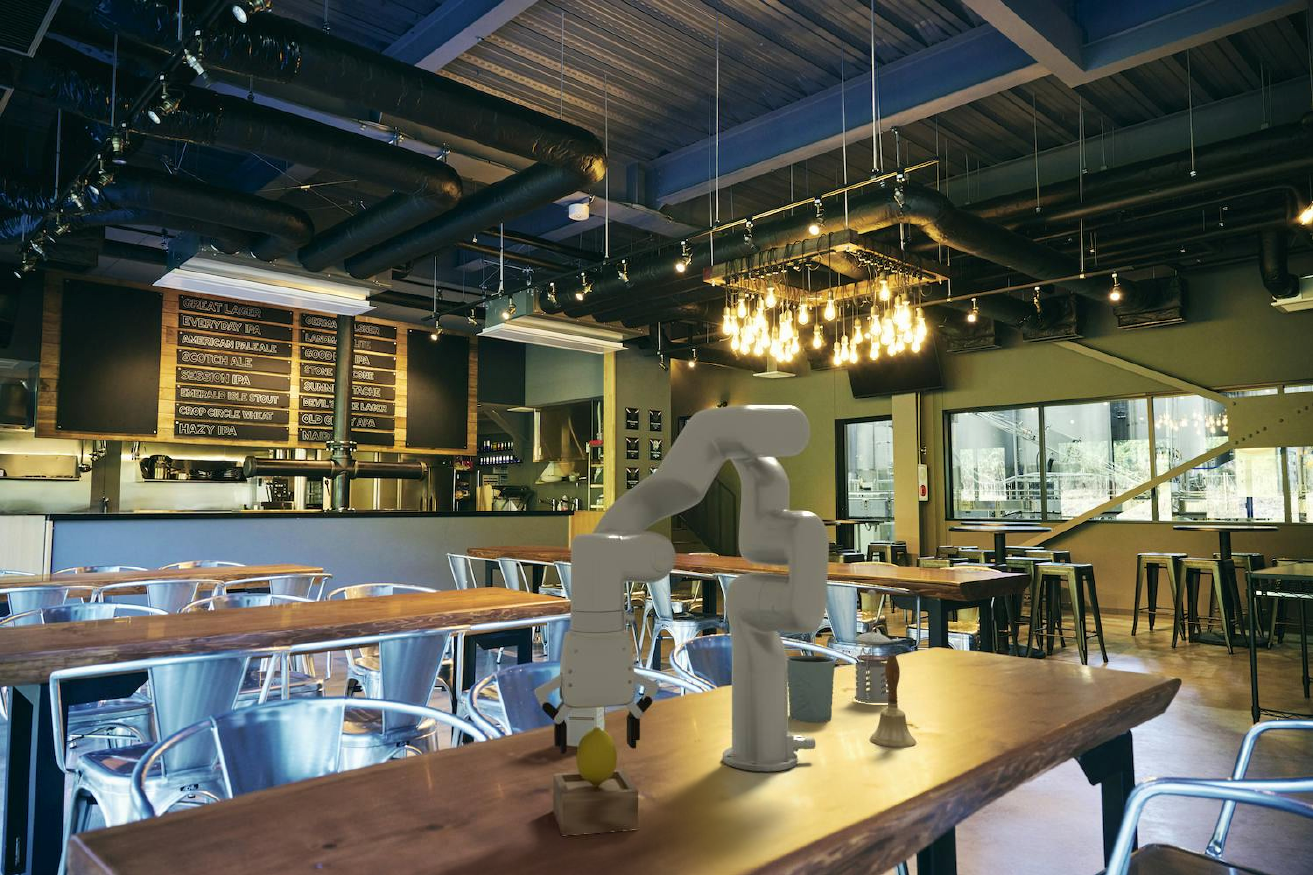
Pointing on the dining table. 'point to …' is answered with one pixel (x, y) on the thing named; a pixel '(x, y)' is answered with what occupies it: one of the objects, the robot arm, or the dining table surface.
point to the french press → (871, 668)
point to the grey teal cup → (810, 687)
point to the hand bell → (892, 713)
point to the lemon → (596, 756)
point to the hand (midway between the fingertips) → (597, 748)
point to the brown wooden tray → (595, 804)
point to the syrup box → (583, 723)
